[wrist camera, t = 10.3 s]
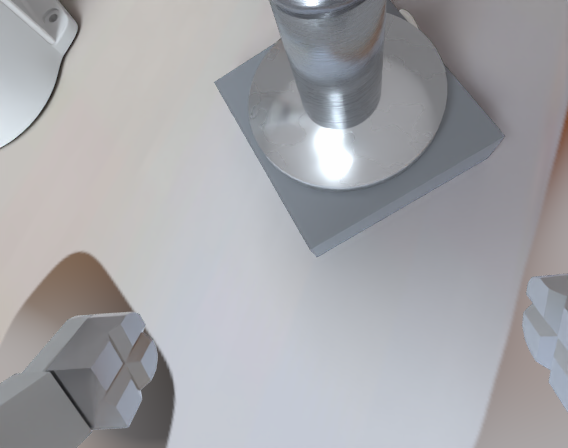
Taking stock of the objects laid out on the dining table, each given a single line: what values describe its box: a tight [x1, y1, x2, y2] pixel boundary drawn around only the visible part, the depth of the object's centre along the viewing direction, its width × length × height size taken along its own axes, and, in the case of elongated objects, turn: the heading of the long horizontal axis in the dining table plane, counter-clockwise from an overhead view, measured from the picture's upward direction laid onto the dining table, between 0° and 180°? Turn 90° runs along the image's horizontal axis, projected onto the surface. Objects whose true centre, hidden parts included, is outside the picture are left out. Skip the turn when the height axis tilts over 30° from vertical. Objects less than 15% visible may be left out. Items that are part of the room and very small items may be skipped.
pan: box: [248, 13, 447, 192], centre depth 21 cm, size 11×11×1 cm
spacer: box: [269, 0, 387, 130], centre depth 16 cm, size 5×5×9 cm
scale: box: [214, 0, 505, 257], centre depth 23 cm, size 13×13×3 cm
